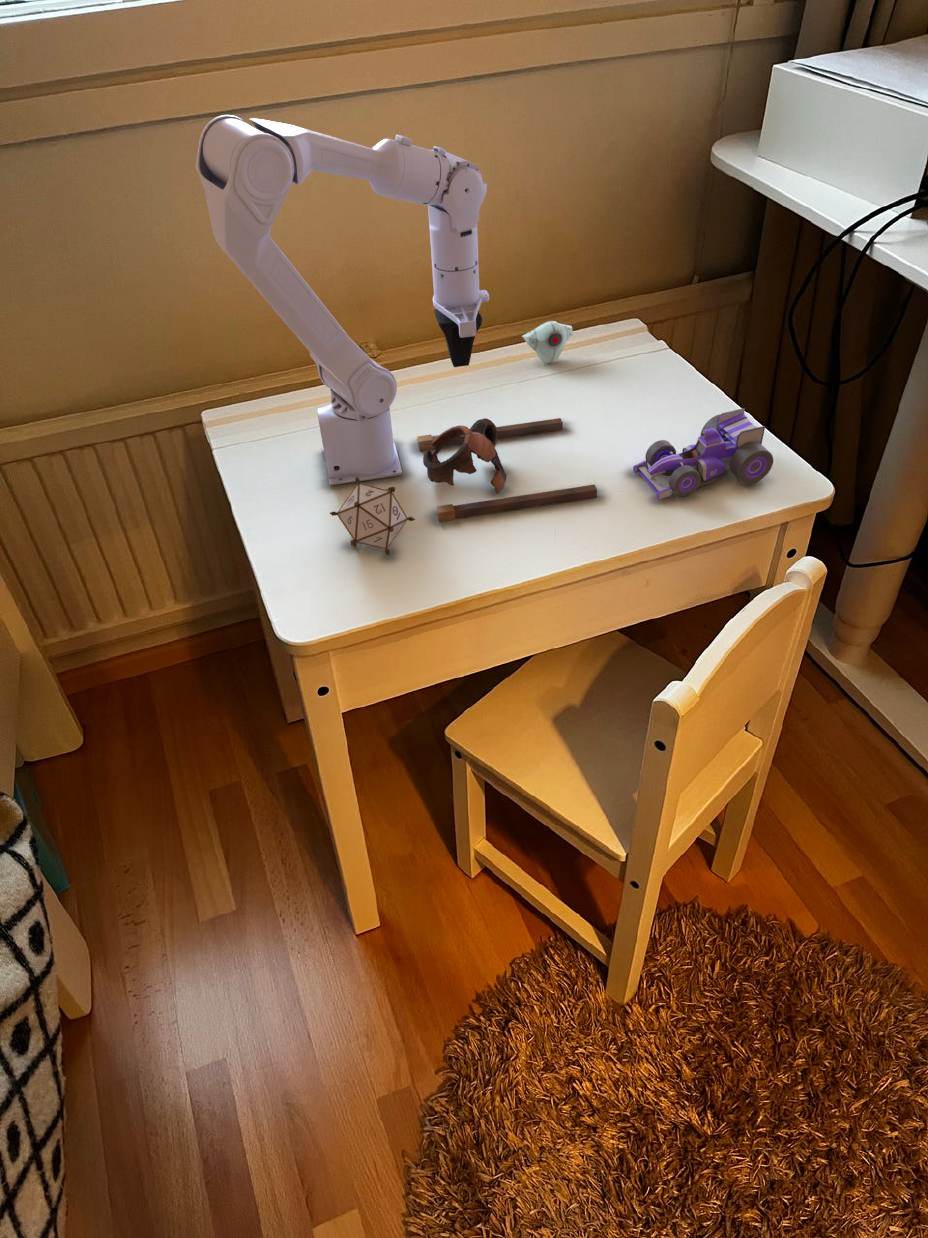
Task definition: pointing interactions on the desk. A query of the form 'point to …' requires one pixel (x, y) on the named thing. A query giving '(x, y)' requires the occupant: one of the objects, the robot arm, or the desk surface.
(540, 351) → the robot head
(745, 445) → the toy race car
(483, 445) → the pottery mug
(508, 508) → the walnut slot
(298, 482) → the desk surface
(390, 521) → the game die
